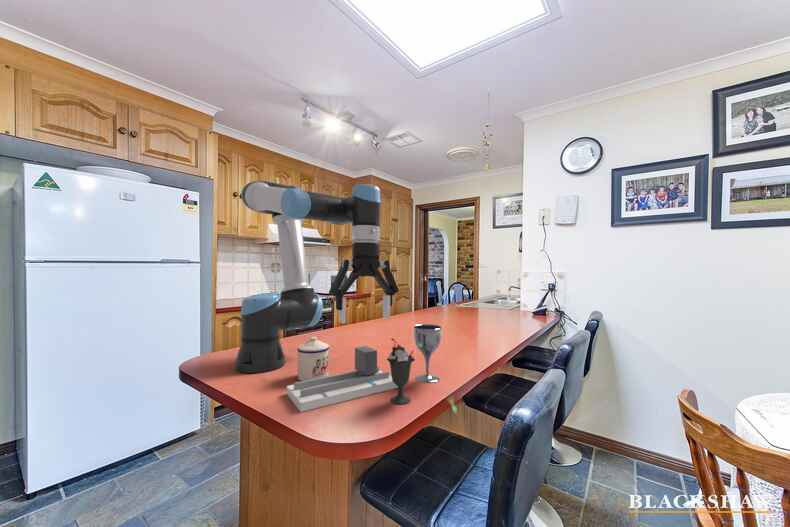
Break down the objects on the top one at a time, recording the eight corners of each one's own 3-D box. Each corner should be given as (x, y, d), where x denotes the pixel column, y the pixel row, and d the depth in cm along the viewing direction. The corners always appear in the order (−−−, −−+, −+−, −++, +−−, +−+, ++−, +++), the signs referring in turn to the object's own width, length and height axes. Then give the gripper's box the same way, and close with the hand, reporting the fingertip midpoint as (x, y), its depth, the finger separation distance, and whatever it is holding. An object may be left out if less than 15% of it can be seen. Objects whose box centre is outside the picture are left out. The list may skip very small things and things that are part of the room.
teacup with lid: (315, 384, 87) (316, 342, 87) (290, 380, 90) (290, 339, 90) (340, 371, 98) (340, 333, 98) (316, 367, 101) (317, 331, 101)
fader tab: (354, 375, 88) (354, 347, 88) (366, 372, 90) (366, 345, 90) (365, 381, 83) (365, 352, 83) (376, 379, 85) (377, 350, 85)
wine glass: (437, 385, 86) (437, 330, 87) (409, 381, 89) (410, 328, 90) (444, 375, 94) (444, 325, 94) (418, 372, 97) (418, 323, 97)
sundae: (381, 399, 77) (381, 337, 77) (402, 392, 81) (402, 334, 81) (397, 408, 72) (397, 342, 72) (419, 401, 76) (419, 338, 76)
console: (286, 393, 80) (286, 380, 80) (375, 374, 95) (375, 363, 95) (300, 412, 70) (300, 396, 70) (397, 387, 85) (397, 374, 85)
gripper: (327, 239, 77) (326, 327, 76) (411, 243, 90) (410, 318, 90) (317, 240, 83) (316, 322, 83) (396, 244, 97) (395, 314, 96)
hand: (365, 320), depth 86 cm, fingers open, 13 cm apart
